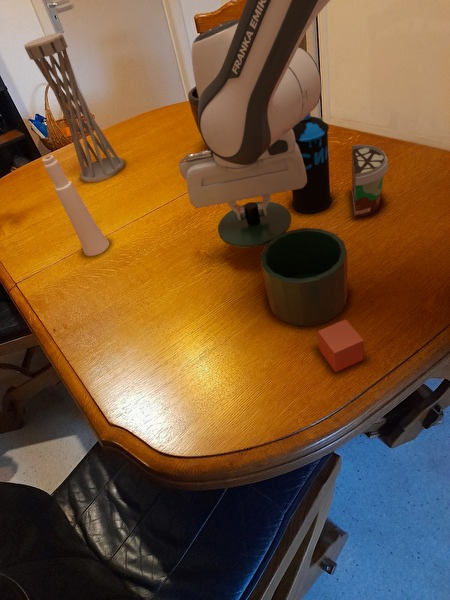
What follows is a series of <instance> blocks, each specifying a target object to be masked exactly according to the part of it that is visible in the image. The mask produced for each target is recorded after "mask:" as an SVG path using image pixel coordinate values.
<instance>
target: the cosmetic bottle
mask: <svg viewBox="0 0 450 600" xmlns="http://www.w3.org/2000/svg"><path fill="white" fill-rule="evenodd" d="M42 163H44V164H43V167H44V169H45V171H46V173H47V174H48V176H49V178H50V179H51V181H52V183H53V185H54V191H55V193H56V195H57V197H58V199H59V201H60V204H61V205H62V208H63V209H64V212H65V213H66V216H67V217H68V219H69V221H70V223H71V225H72V227H73V229H74V231H75V234H76V236H77V239H78V240H79V243H80V245H81V249H82V252H83V253H84V255H85V256H87V257H95V256H98V255H100V254H102V253H104V252H105V251H106V250H108V248H109V247H110V241H109V240H108V238H107V237H106V236H105V234H104V233H103V232H102V230H101V228H100V227H99V226H98V224H97V223H96V221H95V220H94V218H93V216H92V214H91V213H90V211H89V209H88V208H87V206H86V204H85V203H84V201H83V199H82V197H81V195H80V194H79V192H78V190H77V189H76V187H75V186H74V184H73V182H72V181H71V180H69V179H68V178H67V176H66V174H65V172H64V170H63V168H62V166H61V165H60V163H59V161H58V159H55V156H54V155H52V154H50V155H46V156H44V157H42Z"/></svg>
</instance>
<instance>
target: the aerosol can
mask: <svg viewBox="0 0 450 600" xmlns="http://www.w3.org/2000/svg"><path fill="white" fill-rule="evenodd" d="M292 130H293V132H294V135H295V142H296V143H297V145H298V147H299V149H300V152H301V155H302V158H303V162H304V166H305V170H306V175H307V183H306V184H305V186H304V187H303V188H301V189H296V190H291V195H292V204H291V205H292V208H293V209H294V210H295V211H296V212H298V213H301V214H315V213H321V212H322V211H324V210H326V209H328V208H329V206H330V205H331V204H332V197H331V185H330V183H331V182H330V159H329V158H330V157H329V156H330V155H329V135H328V132H329V130H330V126H329V124H328V123H327V122H325V121H324V120H322V119H321V118H320V117H316V116H312V115H311V112H310V113H309V114H308V115H307V116H306V117H305V118H304V119H303V120H302V121H300V122H299V123H298V124H297V125H295V126H294V127H293V128H292Z"/></svg>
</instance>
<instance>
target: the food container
mask: <svg viewBox="0 0 450 600" xmlns="http://www.w3.org/2000/svg"><path fill="white" fill-rule="evenodd" d="M388 170H389V162H388V157H387V155H386V152H384V150H382V149H381V148H379V147H377V146H374V145H369V144H353V145H351V189H352V190H351V193H352V203H353V210H354V211H353V212H354V218H356V219H357V218H358V219H359V218H363V217H366V216H369V215H371V214H373V213H374V212H376V211H377V210H378V209H379V207H380V203H381V196H382V189H383V184H384V183H383V182H384V176H385V175H386V173H387V172H388Z"/></svg>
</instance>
